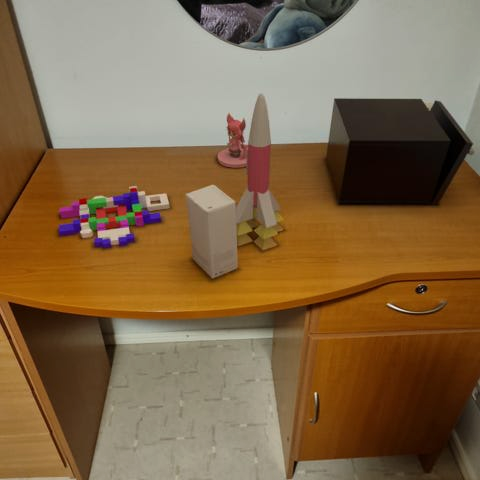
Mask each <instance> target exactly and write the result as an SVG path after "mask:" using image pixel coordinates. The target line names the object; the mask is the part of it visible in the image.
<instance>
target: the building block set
mask: <svg viewBox="0 0 480 480" xmlns="http://www.w3.org/2000/svg"><path fill="white" fill-rule="evenodd" d="M156 201H159V202H160V203H159V202H158V203H151V202H156ZM170 207H171V206H170V202H169V198H168V195H167V193H166V192H164V193H158V194H150V195H146V191H145V190H143V191H139V188H138V187H137V185H134V186H129V187H128V192H127V193H126V192H125V193H122V195H115V196H111V197H106V196H104V195H96V196H94V197H93V198H91V199H88V198H87V197H85V198H79V199H78V201H77V200H76V201H72V202H71V206H64V207H63V206H62V207H59V215H60V218H61V219H67V218H75V217H79V219H72V222H71V223H65V224H64V223H63V224H59V225H58V233H59V235H60V236H61V237H62V236H70V235H71V236H72V235H76V234H77V233H79V234H80V237H81V238H82V239H85V238H86V239H89V238H92V237H93V235H94V231H97V237H96V238H95V237H94V238H93V242H94V243H93V244H94V247H95V248H100V247H103V249H109V248H112V246H115V245H119V247H124V246H128V244H130V243H136V240H135V234H134V233H133V232H131V231H130V226H133V225H134V226H135V225H136V227H143V226H145V224H147V225H148V224H149V225H150V224H157V223H158V224H159V223H162V216H161V213H160V212H153V211H159V210H169V209H170ZM144 208H146V209H147V210H143V209H144ZM128 210H132V212H128ZM151 211H152V212H153V213H150V212H151ZM113 212H117V216H110V217H107V213H113ZM91 215H96V216H94V217H91Z"/></svg>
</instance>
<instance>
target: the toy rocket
mask: <svg viewBox="0 0 480 480" xmlns="http://www.w3.org/2000/svg"><path fill="white" fill-rule="evenodd" d="M271 149H272V139H271V128H270V119H269V112H268V104H267V101H266V98H265V95H264V94H263V93H262V92H261V93H259V94H258V96H257V99H256V101H255V104H254V108H253V113H252V117H251V122H250V129H249V136H248V142H247V160H246V166H245V167H246V169H245V170H246V172H245V175H246V176H247V186H246V188H245V189H244V192H243V193H242V196H241V198H240V199H239V201H238V204H237V205H236V231H237V247H240V246H244V245H246V244H249V243H252V242H253V243H254V244H255V245H256V246H257V247H258V248H260V249H261V250H262V251H265V250H269V249H270V248H273V247H276V246H278V244H277V243H276V241H274V239H273V238H272V237H274V236H275V237H276V236H277V235H279V232H281V231H284V228H283V227H282V225H280V223H279V222H282V221H284V220H285V219H284V218H283V217H282V216H281V214H280V213H279V211H280V210H282V208H281V206H280V204H279V203H278V201H277V200H276V198H275V196H274V195H273V193H272V191H271V190H270V186H269V185H270V173H271V172H270V169H271V153H272V152H271ZM256 220H257V221H258V222H259V223H260V225H259V224H258V223H257V221H256ZM250 232H255V233H256V234H257V235H258V236H257V238H256V239H254V240H253V239H252V237H250V236H249V234H248V233H250Z"/></svg>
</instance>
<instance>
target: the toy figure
mask: <svg viewBox="0 0 480 480" xmlns="http://www.w3.org/2000/svg"><path fill="white" fill-rule="evenodd" d="M226 123H227V126H226V127H225V129H226V131H227V135H228V142H227V143H226V146H227V147H228V148H226V149H222V150H221V151H219V152H218V154H217V162H218V163H219V164H220V165H222V166H224V167H228V168H234V169H237V168H238V169H239V168H243V167H246V160H247V148H248V145H246V144H245V143H246V141H245V137H244V131H245V129H246V127H247V123H246V119H245V117H243V118H242V121H240V120H239V119H234V117H232V115H231V114H230V113H228V114H227V115H226Z"/></svg>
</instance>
